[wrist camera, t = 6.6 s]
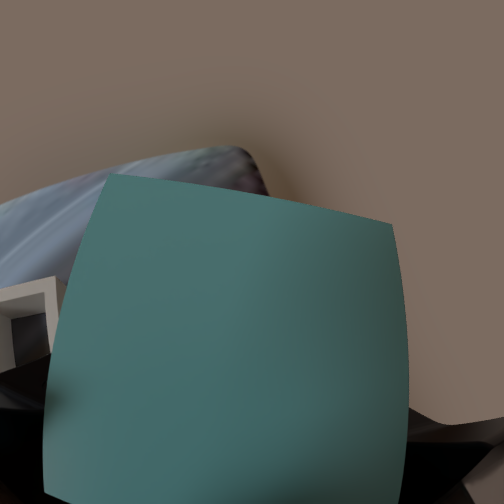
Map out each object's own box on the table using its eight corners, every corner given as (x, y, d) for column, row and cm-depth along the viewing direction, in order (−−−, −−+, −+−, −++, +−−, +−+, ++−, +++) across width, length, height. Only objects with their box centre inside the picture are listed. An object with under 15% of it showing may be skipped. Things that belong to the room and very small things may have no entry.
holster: (92, 394, 17) (71, 393, 13) (13, 401, 14) (-14, 399, 11) (74, 294, 20) (55, 275, 16) (2, 309, 17) (-23, 294, 14)
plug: (244, 426, 13) (397, 507, 2) (157, 416, 13) (44, 491, 2) (251, 346, 15) (391, 224, 4) (167, 334, 15) (109, 173, 4)
